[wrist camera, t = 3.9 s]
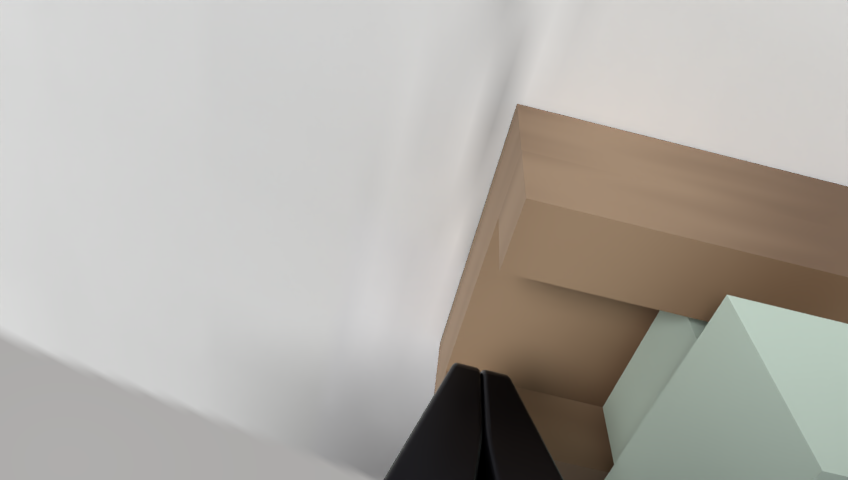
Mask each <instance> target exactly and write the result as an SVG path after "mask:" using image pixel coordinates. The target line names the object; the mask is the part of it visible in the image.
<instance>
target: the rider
mask: <svg viewBox="0 0 848 480" xmlns="http://www.w3.org/2000/svg"><path fill="white" fill-rule="evenodd" d="M603 412H604V417H605V422H606V427H607V432H608V437H609V442H610V447H611V452H612V457H613V462H614V466H613V467H612V469H611V470H610V472H609V473H608V475H607V476H606V478H605V479H604V480H848V324H846V323H842V322H838V321H834V320H830V319H826V318H821V317H817V316H813V315H809V314H805V313H801V312H797V311H792V310H788V309H784V308H780V307H776V306H772V305H768V304H764V303H759V302H755V301H751V300H747V299H743V298H739V297H735V296H731V295H726V297H725V298H724V300H723V301H722V303H721V304H720V306H719V307H718V309H717V310H716V312H715V313H714V315H713V316H712V318H711V319H710V321H709V322H706V321H702V320H698V319H694V318H690V317H685V316H681V315H677V314H673V313H669V312H665V311H661V310H660V311H659V313H658V314H657V316H656V318H655V319H654V321H653V323H652V324H651V326H650V328H649V330H648V331H647V333H646V335H645V336H644V338H643V340H642V341H641V343H640V345H639V346H638V348H637V350H636V352H635V353H634V355H633V357H632V358H631V360H630V362H629V363H628V365H627V367H626V369H625V370H624V372H623V374H622V375H621V377H620V379H619V380H618V382H617V384H616V385H615V387H614V389H613V391H612V392H611V394H610V396H609V397H608V399H607V401H606V402H605V404H604V406H603Z"/></svg>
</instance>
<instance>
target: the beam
mask: <svg viewBox="0 0 848 480" xmlns="http://www.w3.org/2000/svg"><path fill="white" fill-rule="evenodd" d="M726 295H731V296H735V297H739V298H743V299H747V300H751V301H755V302H759V303H764V304H768V305H772V306H776V307H780V308H784V309H788V310H792V311H797V312H801V313H805V314H809V315H813V316H817V317H821V318H826V319H830V320H834V321H838V322H842V323H846V324H848V187H847V186H843V185H839V184H835V183H831V182H827V181H823V180H819V179H815V178H811V177H807V176H803V175H799V174H795V173H791V172H787V171H783V170H779V169H775V168H771V167H767V166H763V165H759V164H755V163H751V162H747V161H743V160H739V159H735V158H731V157H727V156H723V155H719V154H715V153H711V152H707V151H703V150H699V149H695V148H691V147H687V146H683V145H679V144H675V143H671V142H667V141H663V140H659V139H655V138H651V137H647V136H643V135H639V134H635V133H631V132H627V131H623V130H619V129H615V128H611V127H607V126H603V125H599V124H595V123H591V122H587V121H584V120H580V119H576V118H572V117H568V116H564V115H560V114H556V113H552V112H548V111H544V110H540V109H536V108H532V107H528V106H524V105H520V104H517V106H516V109H515V112H514V115H513V118H512V122H511V125H510V128H509V131H508V134H507V137H506V140H505V143H504V146H503V150H502V153H501V156H500V159H499V162H498V165H497V168H496V171H495V174H494V177H493V181H492V184H491V187H490V190H489V193H488V196H487V199H486V202H485V205H484V209H483V212H482V215H481V218H480V221H479V224H478V227H477V230H476V233H475V236H474V240H473V243H472V246H471V249H470V252H469V255H468V258H467V261H466V264H465V268H464V271H463V274H462V277H461V280H460V283H459V286H458V289H457V292H456V295H455V299H454V302H453V305H452V308H451V311H450V314H449V317H448V320H447V323H446V327H445V330H444V333H443V336H442V339H441V342H440V348H439V357H438V366H437V374H436V383H435V392H434V394H435V393H436V391H437V389H438V388H439V386H440V384H441V383H442V381H443V379H444V378H445V376H446V374H447V373H448V371H449V369H450V368H451V366H452V365H453V364H454V363H461V364H465V365H469V366H473V367H477V368H478V369H479V370H480V372H481V371H482V370H490V371H494V372H498V373H502V374H506V375H508V376H509V377H510V378H511V380H512V382H513V384H514V386H515V388H516V390H517V391H518V393H519V395H520V397H521V399H522V401H523V403H524V405H525V407H526V409H527V411H528V412H529V414H530V416H531V418H532V420H533V422H534V424H535V426H536V428H537V430H538V432H539V433H540V435H541V437H542V439H543V441H544V443H545V445H546V447H547V449H548V451H549V453H550V454H551V456H552V458H553V460H554V462H555V464H556V466H557V468H558V470H559V472H560V474H561V476H562V477H563V479H564V480H604V479H605V478H606V476H607V475H608V473H609V472H610V470H611V469H612V467H613V466H614V462H613V457H612V452H611V447H610V442H609V437H608V432H607V427H606V422H605V417H604V412H603V406H604V404H605V402H606V401H607V399H608V397H609V396H610V394H611V392H612V391H613V389H614V387H615V385H616V384H617V382H618V380H619V379H620V377H621V375H622V374H623V372H624V370H625V369H626V367H627V365H628V363H629V362H630V360H631V358H632V357H633V355H634V353H635V352H636V350H637V348H638V346H639V345H640V343H641V341H642V340H643V338H644V336H645V335H646V333H647V331H648V330H649V328H650V326H651V324H652V323H653V321H654V319H655V318H656V316H657V314H658V313H659V311H660V310H661V311H665V312H669V313H673V314H677V315H681V316H685V317H690V318H694V319H698V320H702V321H706V322H709V321H710V319H711V318H712V316H713V315H714V313H715V312H716V310H717V309H718V307H719V306H720V304H721V303H722V301H723V300H724V298H725V297H726Z"/></svg>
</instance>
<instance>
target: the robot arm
mask: <svg viewBox="0 0 848 480" xmlns="http://www.w3.org/2000/svg"><path fill="white" fill-rule="evenodd" d="M384 480H564V479H563V477H562V476H561V474H560V472H559V470H558V468H557V466H556V464H555V462H554V460H553V458H552V456H551V454H550V453H549V451H548V449H547V447H546V445H545V443H544V441H543V439H542V437H541V435H540V433H539V432H538V430H537V428H536V426H535V424H534V422H533V420H532V418H531V416H530V414H529V412H528V411H527V409H526V407H525V405H524V403H523V401H522V399H521V397H520V395H519V393H518V391H517V390H516V388H515V386H514V384H513V382H512V380H511V378H510V377H509V376H508V375H506V374H502V373H498V372H494V371H490V370H482V371H481V372H480V370H479V369H478V368H477V367H473V366H469V365H465V364H461V363H454V364H453V365H452V366H451V368H450V369H449V371H448V373H447V374H446V376H445V378H444V379H443V381H442V383H441V384H440V386H439V388H438V389H437V391H436V393H435V394H434V396H433V398H432V400H431V401H430V403H429V405H428V406H427V408H426V410H425V411H424V413H423V415H422V416H421V418H420V420H419V421H418V423H417V425H416V426H415V428H414V430H413V431H412V433H411V435H410V436H409V438H408V440H407V441H406V443H405V445H404V446H403V448H402V450H401V452H400V453H399V455H398V457H397V458H396V460H395V462H394V463H393V465H392V467H391V468H390V470H389V472H388V473H387V475H386V477H385V478H384Z"/></svg>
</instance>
